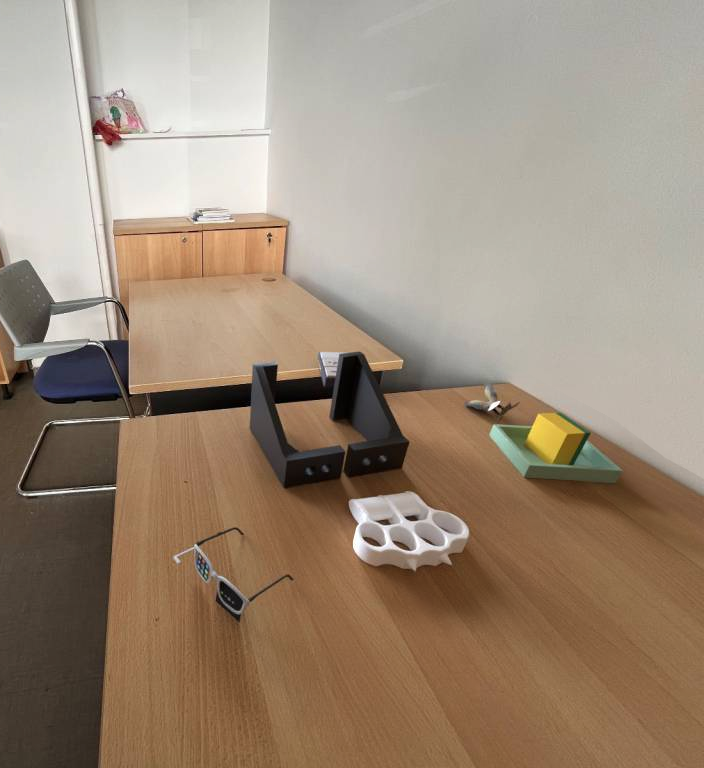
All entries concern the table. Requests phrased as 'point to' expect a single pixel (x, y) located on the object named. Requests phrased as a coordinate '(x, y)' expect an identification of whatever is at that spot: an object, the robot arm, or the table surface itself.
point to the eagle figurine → (490, 402)
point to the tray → (585, 468)
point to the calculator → (328, 367)
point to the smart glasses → (223, 580)
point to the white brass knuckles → (405, 531)
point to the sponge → (556, 439)
